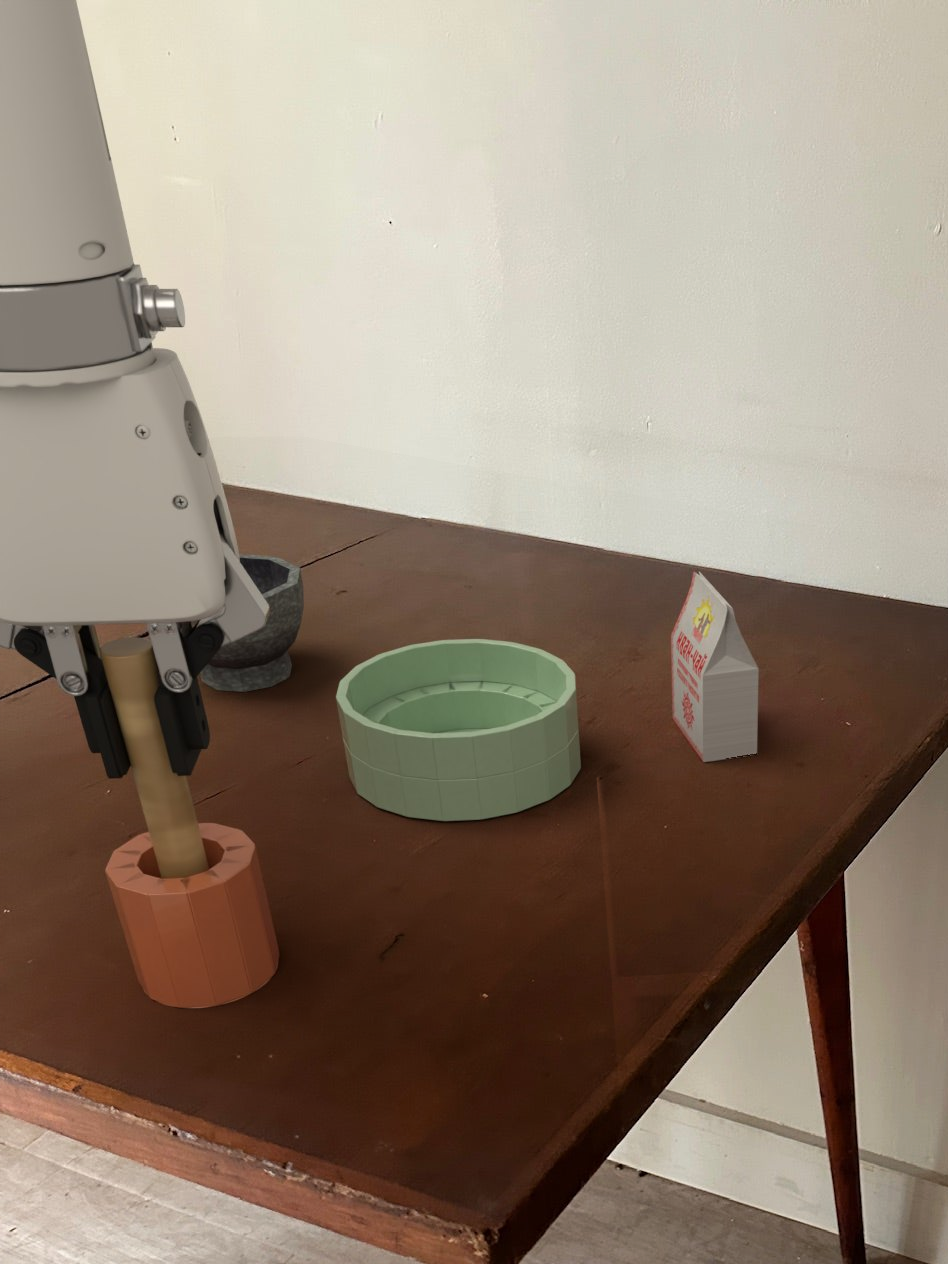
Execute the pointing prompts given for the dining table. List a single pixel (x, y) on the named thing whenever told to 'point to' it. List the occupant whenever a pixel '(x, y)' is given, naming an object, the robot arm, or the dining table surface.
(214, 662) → the mortar and pestle
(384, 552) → the dining table surface
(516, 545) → the dining table surface
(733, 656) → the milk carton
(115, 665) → the stick
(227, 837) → the utensil pot
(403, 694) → the bowl
